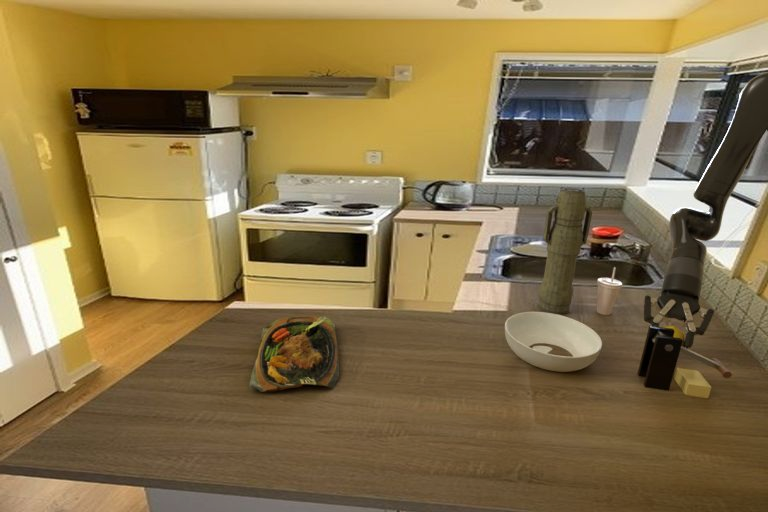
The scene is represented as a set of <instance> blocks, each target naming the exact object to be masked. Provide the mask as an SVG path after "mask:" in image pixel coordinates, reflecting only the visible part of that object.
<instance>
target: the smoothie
mask: <svg viewBox="0 0 768 512" xmlns="http://www.w3.org/2000/svg"><path fill="white" fill-rule="evenodd" d="M616 269H617V267H615V266H614V267H613V269H612V274H611V277H599V278H597V281H596V284H597V295H596V296H597V297H596V313H598V314H600V315H602V316H610V315H611V314H612V311H613V309H614V306H615V303H616V300H617V298H618V295H619V293H620V289H622V288H623V283H622V281H620V280H618V279H616V278H615V276H616Z"/></svg>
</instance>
